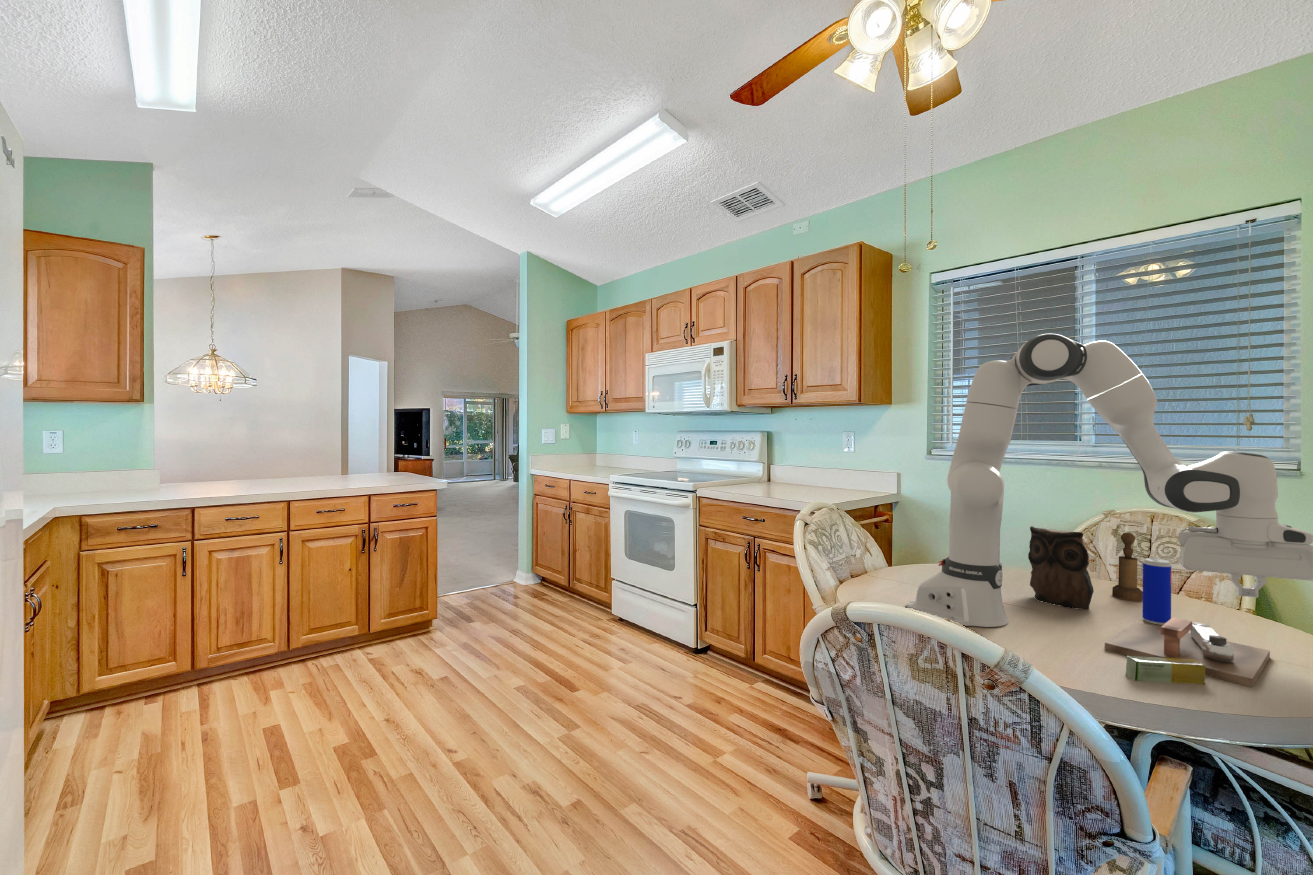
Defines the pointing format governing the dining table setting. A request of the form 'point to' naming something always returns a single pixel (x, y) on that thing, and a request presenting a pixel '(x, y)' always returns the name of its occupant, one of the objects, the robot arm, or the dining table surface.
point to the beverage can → (1156, 591)
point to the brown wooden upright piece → (1127, 573)
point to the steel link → (1210, 649)
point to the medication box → (1165, 670)
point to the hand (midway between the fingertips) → (1247, 596)
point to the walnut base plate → (1189, 649)
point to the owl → (1060, 568)
